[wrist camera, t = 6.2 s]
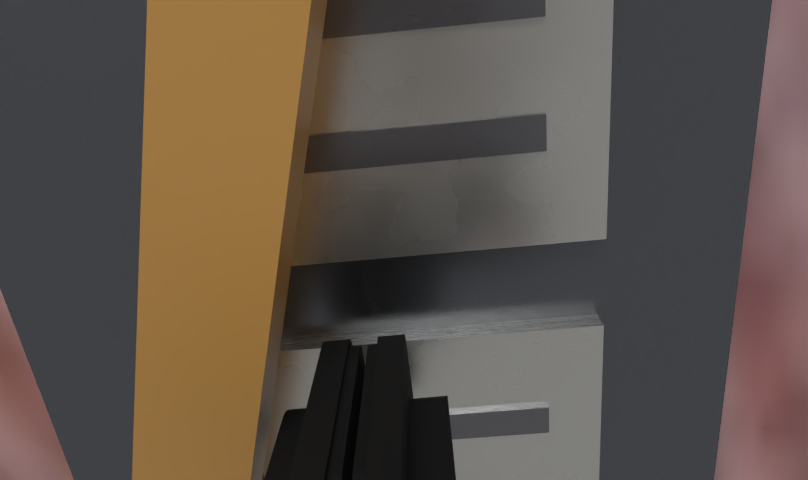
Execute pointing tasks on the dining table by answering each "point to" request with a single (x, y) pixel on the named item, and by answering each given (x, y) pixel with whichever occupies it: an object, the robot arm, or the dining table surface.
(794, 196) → the dining table surface
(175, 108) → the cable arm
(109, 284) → the label base
